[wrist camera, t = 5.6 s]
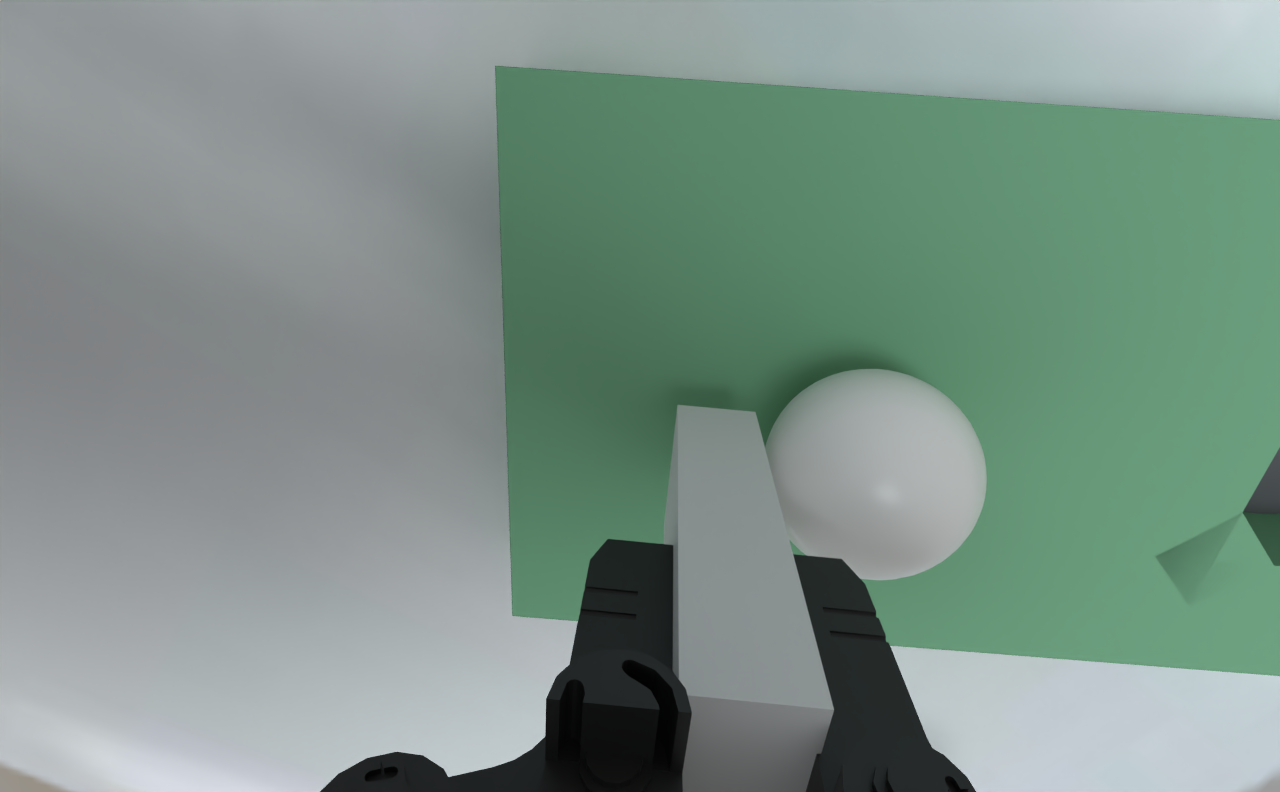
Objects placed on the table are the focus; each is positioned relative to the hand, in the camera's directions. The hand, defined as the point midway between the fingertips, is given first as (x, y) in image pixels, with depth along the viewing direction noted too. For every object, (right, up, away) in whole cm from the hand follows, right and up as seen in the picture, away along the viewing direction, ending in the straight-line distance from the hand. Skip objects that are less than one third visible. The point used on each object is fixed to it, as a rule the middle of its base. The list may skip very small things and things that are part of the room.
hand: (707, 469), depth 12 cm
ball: (+3, 0, 0) cm, 3 cm away
